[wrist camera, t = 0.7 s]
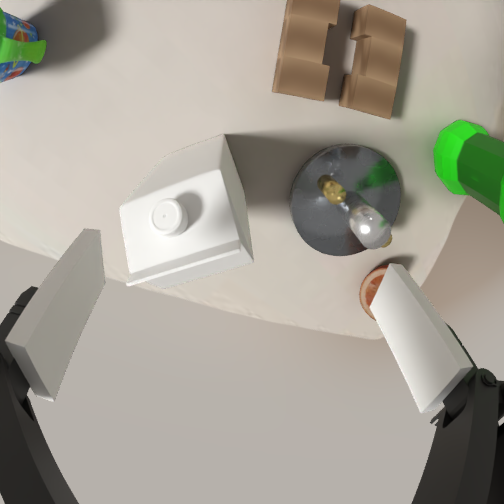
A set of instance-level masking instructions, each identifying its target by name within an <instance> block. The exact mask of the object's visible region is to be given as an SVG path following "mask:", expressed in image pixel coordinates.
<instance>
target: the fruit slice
mask: <svg viewBox="0 0 504 504" xmlns="http://www.w3.org/2000/svg"><path fill="white" fill-rule="evenodd" d="M388 266H389V265H383V266H380V267H378V268H376V269H375V270H373V271H372V272H370V273H369V274H368V275H367V276H366V277H365V279H364V280H363V282H362V285H361V288H360V293H359V295H360V303H361V305H362V307H363V309H364V310H365V312H366V313H367V314H368V315H369V316H370V317H371V318H372V319H374V320H375V321H376V319H375V317H374V315H373V313H372V311H371V310H370V308H369V307H370V305H371V303H372V301H373V299H374V297H375V295H376V293H377V290H378V288H379V286H380V284H381V282H382V279H383V277H384V275H385V273H386V270H387V268H388Z"/></svg>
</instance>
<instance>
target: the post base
mask: <svg viewBox="0 0 504 504" xmlns="http://www.w3.org/2000/svg"><path fill="white" fill-rule="evenodd" d="M400 195H401V193H400V185H399V181H398V178H397V175H396V173H395V171H394V169H393V168H392V166H391V165H390V164H389V162H388V161H387V160H386V159H385V158H384V157H382V156H381V155H379V154H378V153H376V152H374V151H372V150H370V149H368V148H366V147H363V146H360V145H355V144H340V145H335V146H331V147H329V148H326V149H324V150H322V151H320V152H318V153H317V154H315V155H314V156H313V157H312V158H310V159H309V160H308V161H307V162H306V163H305V164H304V166H303V167H302V168H301V169H300V171H299V173H298V174H297V176H296V178H295V180H294V183H293V185H292V189H291V194H290V212H291V216H292V219H293V222H294V224H295V226H296V229H297V231H298V233H299V234H300V236H301V237H302V239H303V240H304V241H305V242H306V243H307V244H308V245H309V246H311V247H312V248H314V249H315V250H317V251H319V252H321V253H324V254H328V255H333V256H347V255H352V254H356V253H359V252H362V251H364V250H366V249H377V248H380V247H387V246H388V245H389V244H390V243H391V241H392V235H391V226H392V225H393V223H394V221H395V219H396V216H397V214H398V210H399V206H400Z"/></svg>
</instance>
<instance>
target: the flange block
mask: <svg viewBox="0 0 504 504" xmlns="http://www.w3.org/2000/svg"><path fill="white" fill-rule="evenodd" d="M339 6H340V0H287V4H286V10H285V16H284V22H283V28H282V34H281V40H280V46H279V52H278V58H277V64H276V70H275V76H274V82H273V88H272V92H275V93H281V94H287V95H292V96H298V97H303V98H308V99H312V100H319V101H324V97H325V91H326V86H327V80H328V74H329V69H330V66H328V65H324V64H322V61H323V55H324V49H325V43H326V37H327V31H328V29H330V28H332V27H334V26H336V25H337V19H338V12H339ZM405 28H406V20H405V19H403V18H401V17H399V16H397V15H394V14H392V13H390V12H387V11H385V10H382V9H380V8H377V7H375V6H372V5H369V4H368V5H366V6H364V7H362V8H360V9H358V10H356V11H355V12H354V17H353V24H352V30H351V37H350V39H353V40H356V41H357V43H356V49H355V55H354V61H353V67H352V73H351V75H344V79H343V85H342V90H341V95H340V101H339V106H342V107H346V108H350V109H354V110H358V111H361V112H365V113H368V114H372V115H375V116H379V117H383V118H386V119H390V118H391V113H392V108H393V103H394V98H395V93H396V87H397V82H398V76H399V70H400V64H401V58H402V51H403V44H404V36H405Z"/></svg>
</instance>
